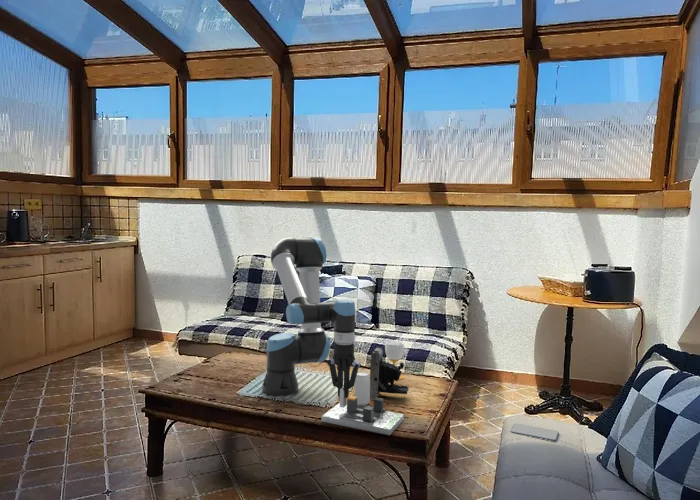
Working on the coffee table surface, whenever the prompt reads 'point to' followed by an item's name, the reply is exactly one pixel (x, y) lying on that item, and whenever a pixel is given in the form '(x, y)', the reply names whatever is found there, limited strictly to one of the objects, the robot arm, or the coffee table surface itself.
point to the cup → (394, 351)
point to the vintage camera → (384, 376)
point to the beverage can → (362, 388)
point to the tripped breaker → (352, 404)
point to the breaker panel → (361, 426)
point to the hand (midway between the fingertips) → (343, 405)
